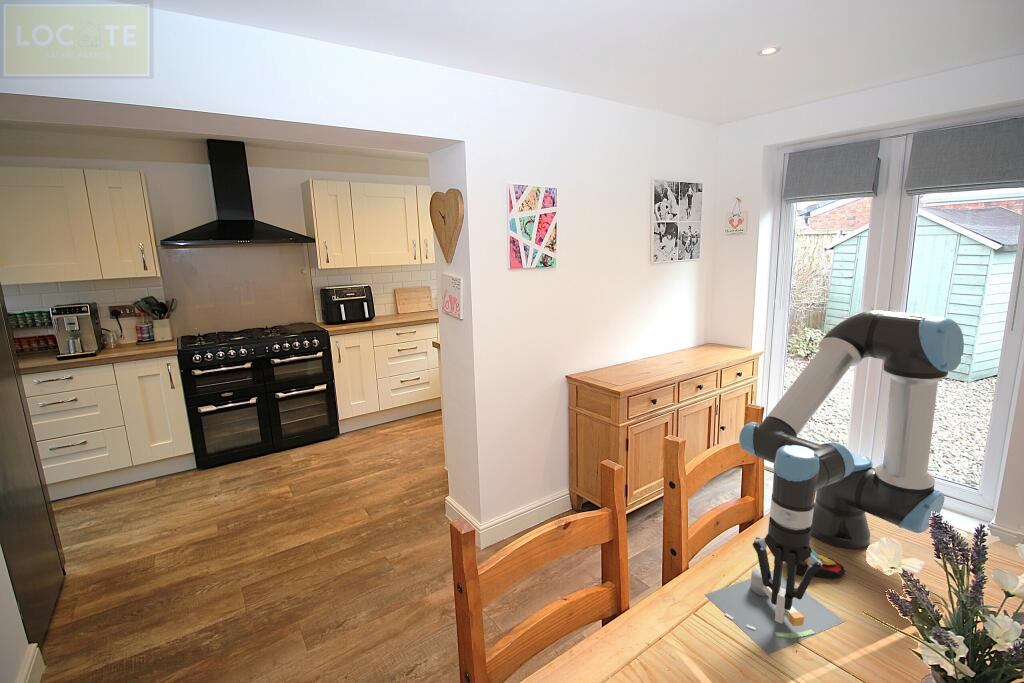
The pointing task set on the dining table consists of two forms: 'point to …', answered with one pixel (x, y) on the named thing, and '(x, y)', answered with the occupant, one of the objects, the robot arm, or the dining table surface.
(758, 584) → the white mallet
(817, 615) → the dial board
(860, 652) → the dining table surface
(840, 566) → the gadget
